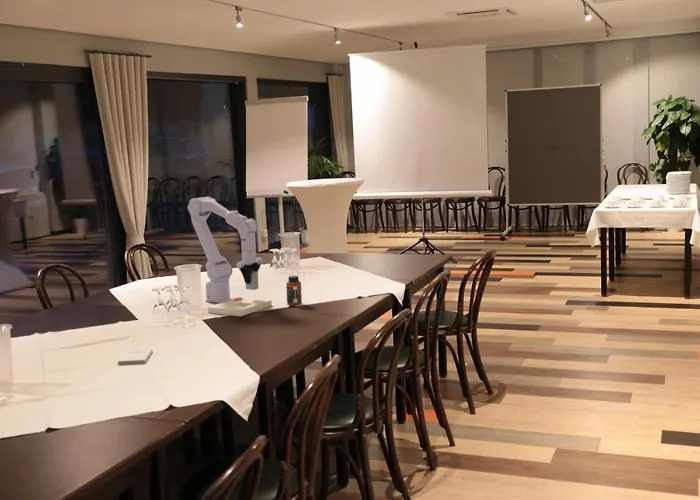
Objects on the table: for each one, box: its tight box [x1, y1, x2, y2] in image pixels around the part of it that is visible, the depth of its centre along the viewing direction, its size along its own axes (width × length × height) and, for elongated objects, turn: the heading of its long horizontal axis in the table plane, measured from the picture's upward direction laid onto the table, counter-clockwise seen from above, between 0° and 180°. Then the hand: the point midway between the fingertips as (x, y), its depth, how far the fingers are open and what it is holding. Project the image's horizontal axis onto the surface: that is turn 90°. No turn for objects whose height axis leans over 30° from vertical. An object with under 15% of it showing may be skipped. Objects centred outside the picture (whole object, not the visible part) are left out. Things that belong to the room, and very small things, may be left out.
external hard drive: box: [117, 348, 153, 366], centre depth 242 cm, size 2×8×12 cm
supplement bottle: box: [285, 275, 303, 306], centre depth 311 cm, size 6×6×11 cm
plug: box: [245, 269, 259, 291], centre depth 312 cm, size 4×3×8 cm
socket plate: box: [207, 296, 272, 317], centre depth 306 cm, size 16×20×3 cm
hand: (250, 282), depth 313 cm, fingers closed on plug, 3 cm apart
